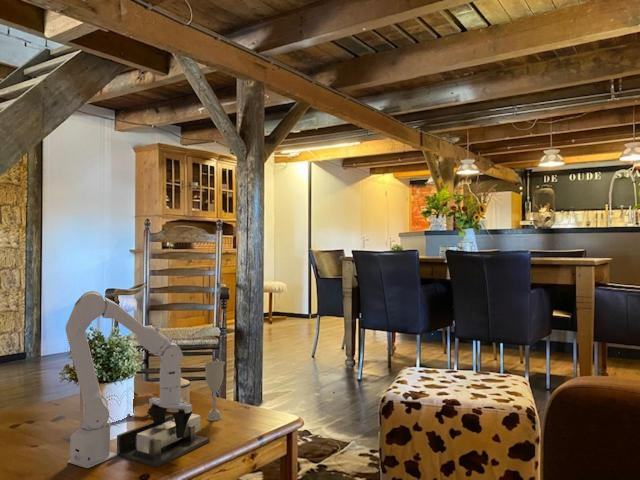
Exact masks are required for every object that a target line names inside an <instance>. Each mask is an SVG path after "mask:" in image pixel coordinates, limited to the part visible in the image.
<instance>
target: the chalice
mask: <svg viewBox="0 0 640 480" xmlns="http://www.w3.org/2000/svg"><path fill="white" fill-rule="evenodd" d="M225 364H226V361H224V360H209V361H205V362H203V365H204V367H205V381H206V384H207V386H208V389H209V391H210V392H212V397H211V398H212V402H211V404H212V409H210V410H209V412H208V413H207V414H208V415H207V417H206V420H207V421H214V422H215V421H220V420H222V419H223V416H222V414H221V412H220V410H219V409H217V404H218V401H217V398H218V397H217V392H219V390H220V389H221V386H222V383H223V380H224V368H225V367H224V366H225Z"/></svg>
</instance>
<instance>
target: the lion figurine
mask: <svg viewBox="0 0 640 480" xmlns="http://www.w3.org/2000/svg"><path fill="white" fill-rule="evenodd" d="M133 392H134V399H133V413H134V414H135V407H143V406H145V405H147V404H148V406H149V399H151V398H154V397H155V398H158V397H157V396H156V395H155V394H153V393H146V394H138V393H137V392H135V391H133ZM150 408H152V406H149V409H150ZM147 413H148V414H150V413H149V412H148V411H147Z"/></svg>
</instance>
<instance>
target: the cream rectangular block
mask: <svg viewBox="0 0 640 480" xmlns="http://www.w3.org/2000/svg"><path fill="white" fill-rule="evenodd" d="M190 425H195V433H197V432H200V431H201V414H196V413H192V414H191V416H190V418H189V420H188V422H187V425H186V428H185V432H184V436H183V437H180V438H177V436H176V425H175V420H174V419H172V420H170V421H168V422H165V423H163V424H160V425H158V426H155V427H153V428H150V429H148V430H145V431H143V432H140V433H138V434H137V451H141V452H145V453H148V454H149V453H151V452H153V441H155V440H157V439H160V440H161V448H162V447H164V446H167V445H169V444H171V443H173V442H175V441H178V440H180V439H182V438H184V437H187V436H188V426H190Z"/></svg>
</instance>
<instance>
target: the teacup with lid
mask: <svg viewBox="0 0 640 480" xmlns="http://www.w3.org/2000/svg"><path fill="white" fill-rule="evenodd" d="M190 385H191V382H190V380H188V379H185V378H183V377H181V398H182V401H184V402H186V403H188V404H190V393H191V392H190ZM176 412H178V410H173V409H168V408H167V410H166V413H172V414H174V413H176Z"/></svg>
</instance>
